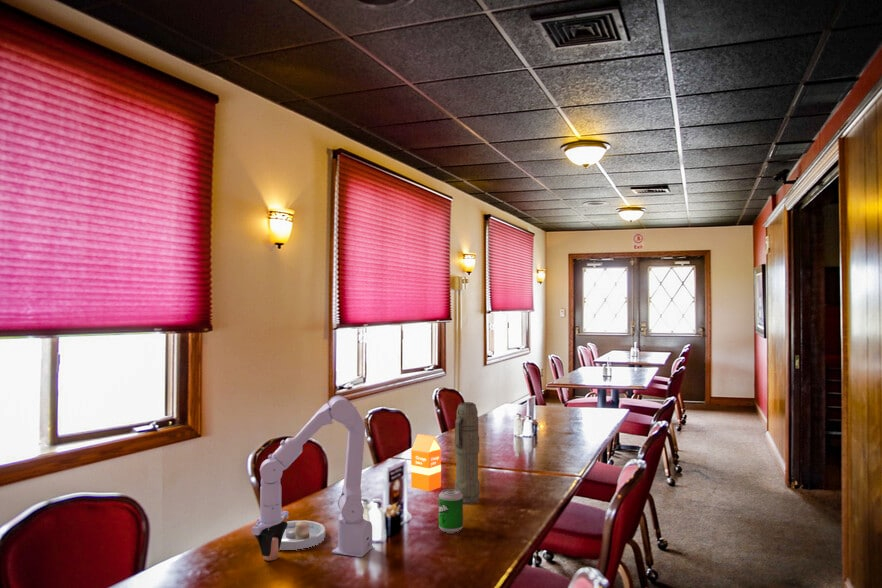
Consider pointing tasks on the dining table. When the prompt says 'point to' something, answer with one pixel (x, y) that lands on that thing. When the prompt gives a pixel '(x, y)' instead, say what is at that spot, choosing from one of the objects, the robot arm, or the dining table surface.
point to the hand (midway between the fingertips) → (270, 552)
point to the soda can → (450, 510)
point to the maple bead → (302, 530)
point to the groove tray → (292, 544)
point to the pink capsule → (273, 550)
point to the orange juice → (426, 463)
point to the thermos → (467, 452)
